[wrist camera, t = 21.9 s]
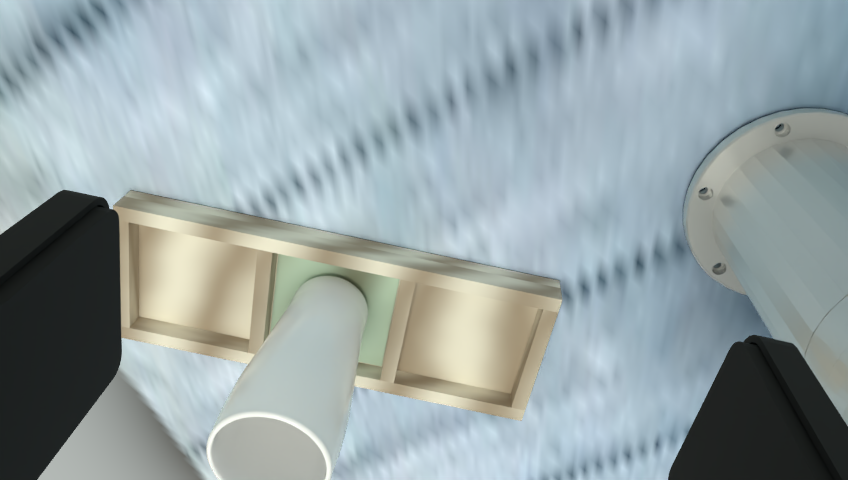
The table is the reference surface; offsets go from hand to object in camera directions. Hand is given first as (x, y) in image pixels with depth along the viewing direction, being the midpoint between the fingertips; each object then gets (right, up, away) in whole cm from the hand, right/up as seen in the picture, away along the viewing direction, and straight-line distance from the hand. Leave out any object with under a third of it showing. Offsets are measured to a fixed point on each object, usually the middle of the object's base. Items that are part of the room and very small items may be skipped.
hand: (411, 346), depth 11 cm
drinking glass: (-6, -3, +39) cm, 39 cm away
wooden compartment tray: (-6, -3, +40) cm, 40 cm away
